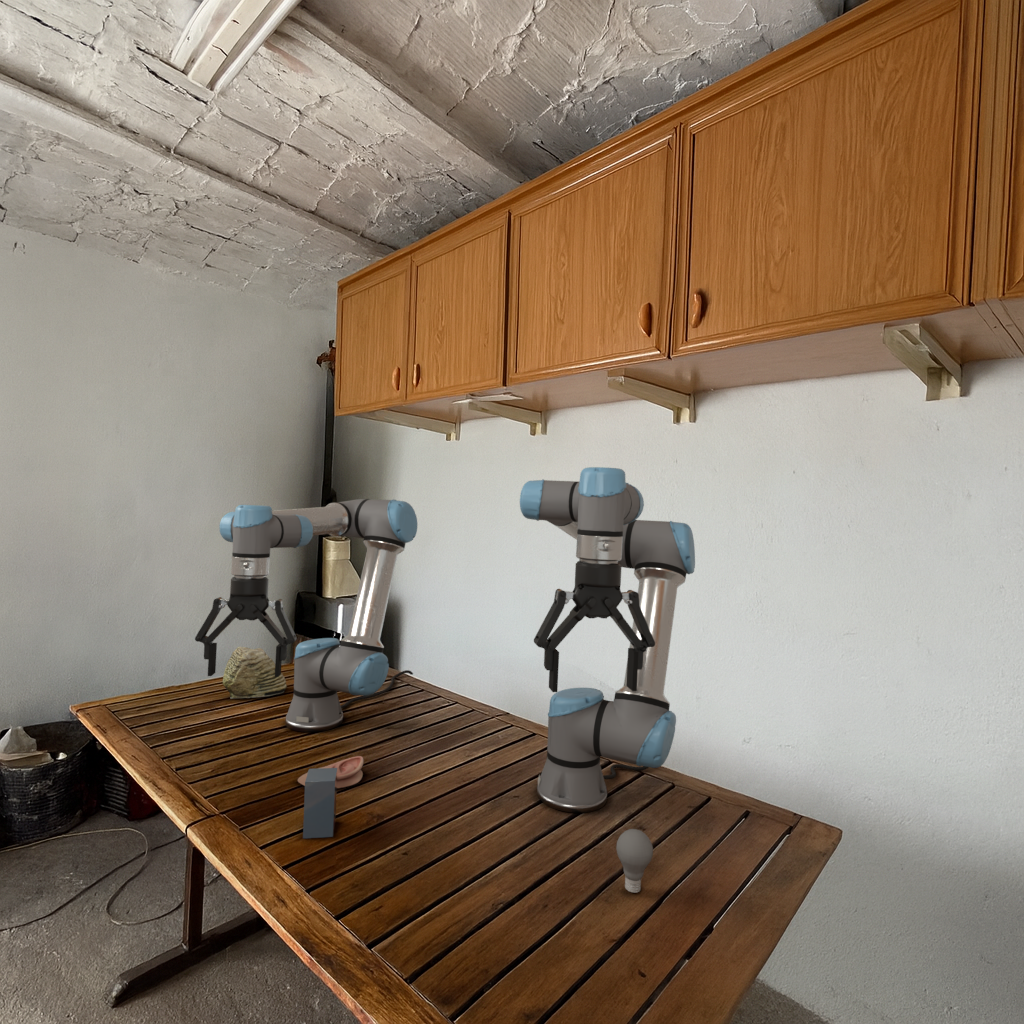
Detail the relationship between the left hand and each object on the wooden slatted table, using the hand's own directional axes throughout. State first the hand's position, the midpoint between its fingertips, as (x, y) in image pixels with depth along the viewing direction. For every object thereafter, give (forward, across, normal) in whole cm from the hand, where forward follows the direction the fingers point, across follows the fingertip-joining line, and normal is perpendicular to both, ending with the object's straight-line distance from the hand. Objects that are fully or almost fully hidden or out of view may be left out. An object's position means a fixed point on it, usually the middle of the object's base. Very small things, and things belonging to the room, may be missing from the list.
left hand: (244, 675), depth 136 cm
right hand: (-10, +65, -42) cm, 78 cm away
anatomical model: (+24, +19, +3) cm, 31 cm away
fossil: (+23, -12, +64) cm, 69 cm away
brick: (+24, +20, -19) cm, 36 cm away
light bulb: (+24, +74, -42) cm, 88 cm away
